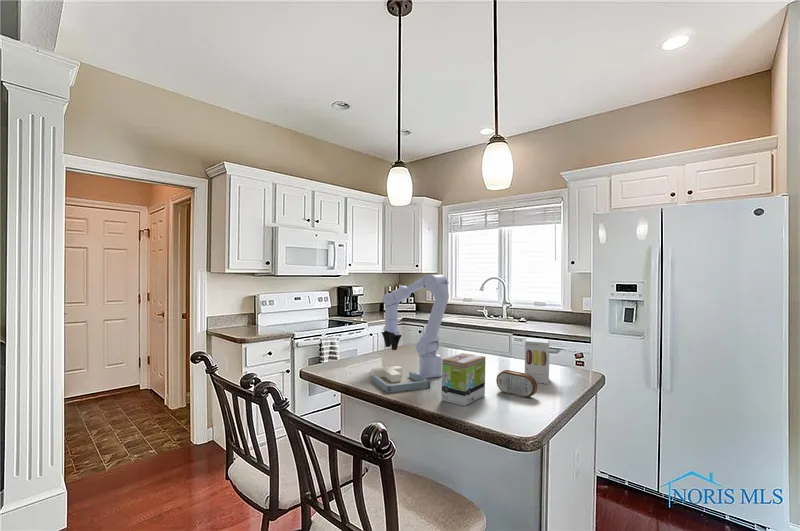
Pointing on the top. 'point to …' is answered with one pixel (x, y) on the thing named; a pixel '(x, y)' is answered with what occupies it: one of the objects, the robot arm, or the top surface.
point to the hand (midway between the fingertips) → (391, 348)
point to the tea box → (463, 378)
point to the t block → (388, 373)
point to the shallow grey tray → (388, 388)
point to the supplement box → (537, 359)
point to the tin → (516, 383)
